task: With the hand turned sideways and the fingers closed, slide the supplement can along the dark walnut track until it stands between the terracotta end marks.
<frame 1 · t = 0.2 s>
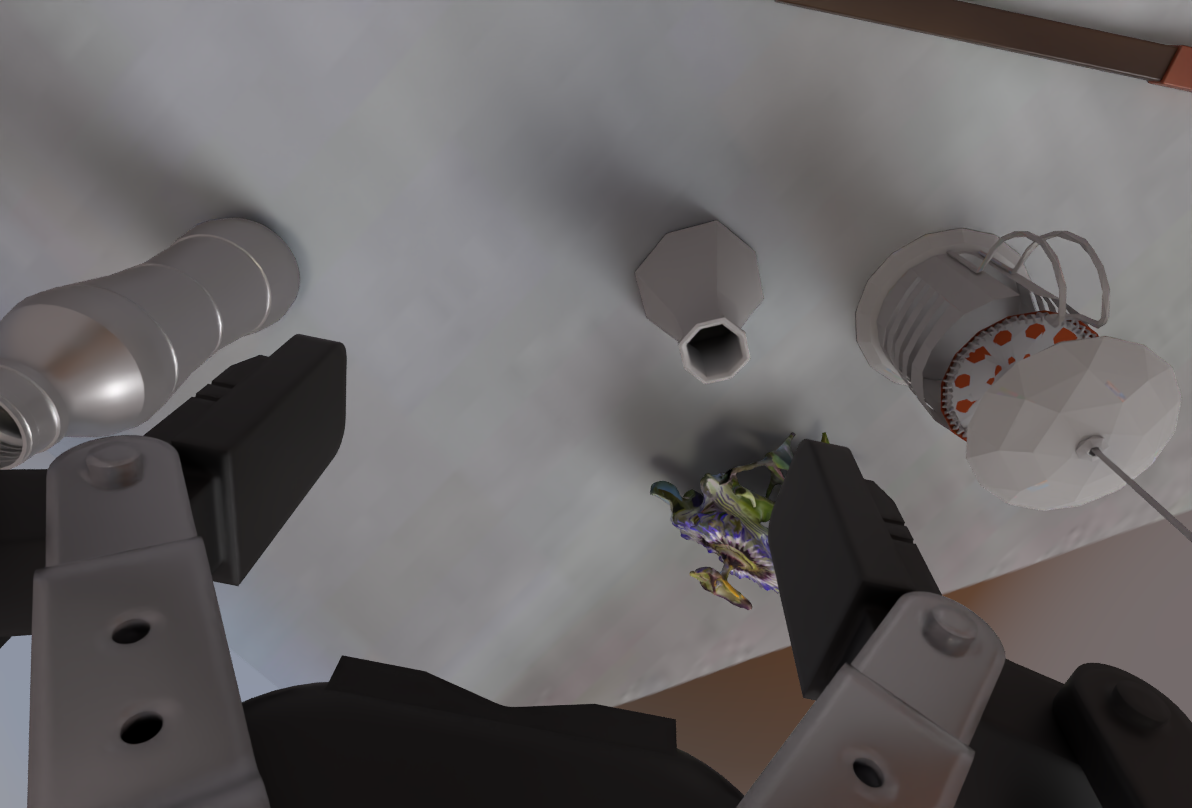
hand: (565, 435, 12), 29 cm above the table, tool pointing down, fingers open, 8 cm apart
passion flower: (756, 473, 46), on the table
flask: (698, 283, 41), on the table
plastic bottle: (259, 262, 42), on the table
french press: (943, 297, 40), on the table
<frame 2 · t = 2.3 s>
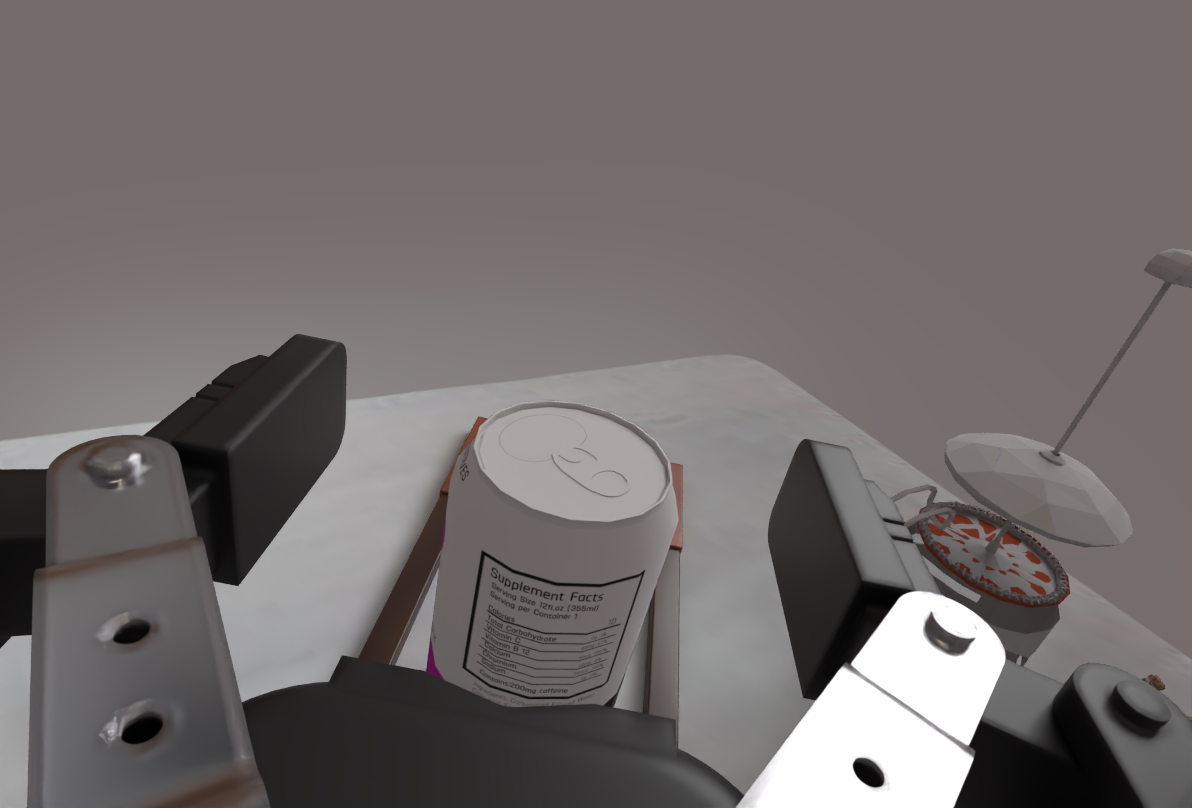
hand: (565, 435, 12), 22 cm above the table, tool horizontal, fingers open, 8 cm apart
supplement can: (512, 721, 32), on the table
slide track: (543, 592, 39), on the table
french press: (891, 677, 39), on the table
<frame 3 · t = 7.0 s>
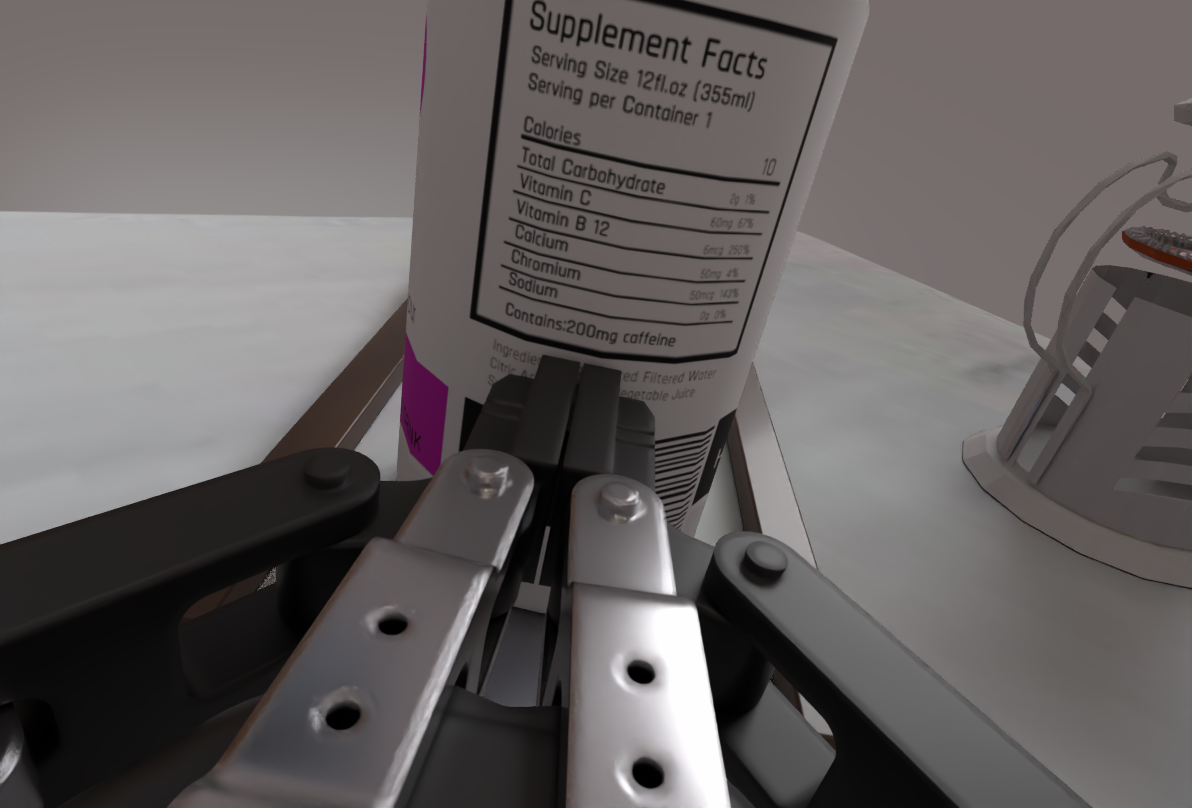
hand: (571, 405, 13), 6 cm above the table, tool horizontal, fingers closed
supplement can: (543, 525, 20), on the table, touching gripper
slide track: (570, 394, 26), on the table
french press: (1068, 500, 27), on the table
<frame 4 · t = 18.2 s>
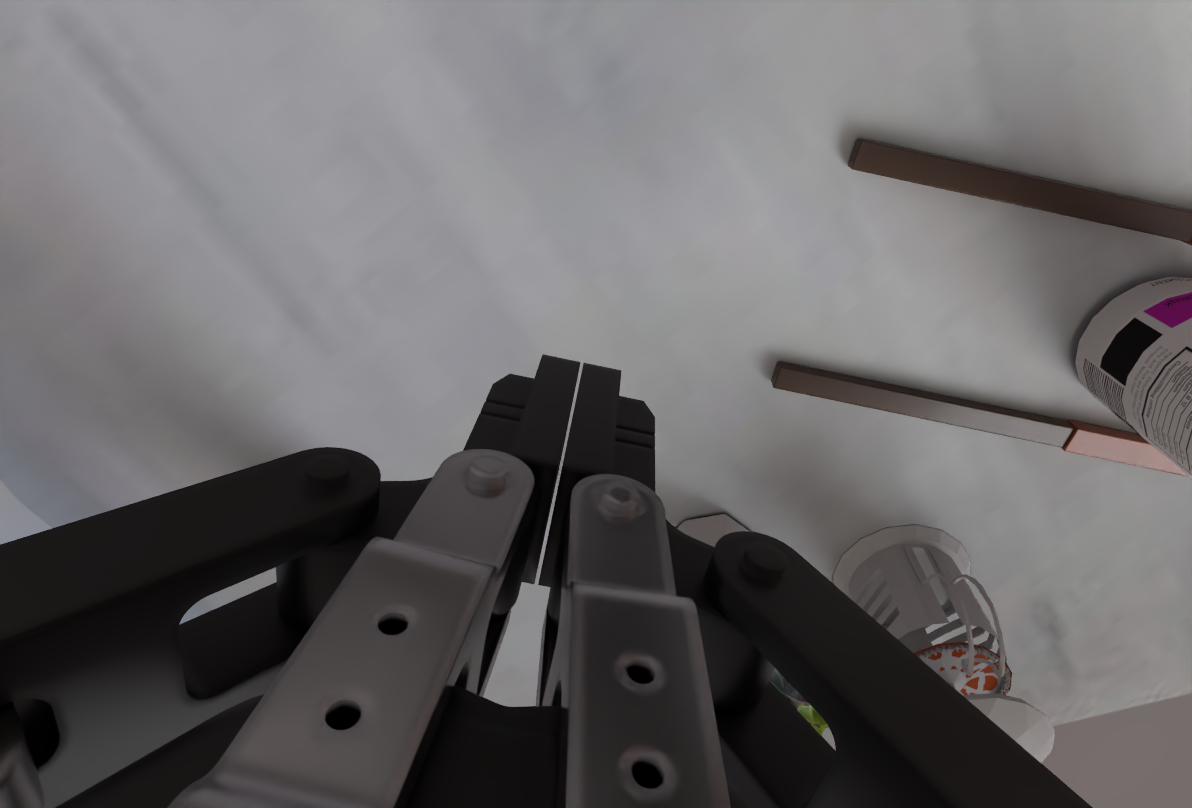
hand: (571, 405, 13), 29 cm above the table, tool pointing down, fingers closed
supplement can: (1141, 337, 42), on the table
passion flower: (753, 675, 57), on the table
slide track: (1038, 318, 41), on the table
flask: (709, 550, 52), on the table
french press: (902, 566, 51), on the table
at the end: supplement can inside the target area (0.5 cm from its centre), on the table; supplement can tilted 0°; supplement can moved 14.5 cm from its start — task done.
